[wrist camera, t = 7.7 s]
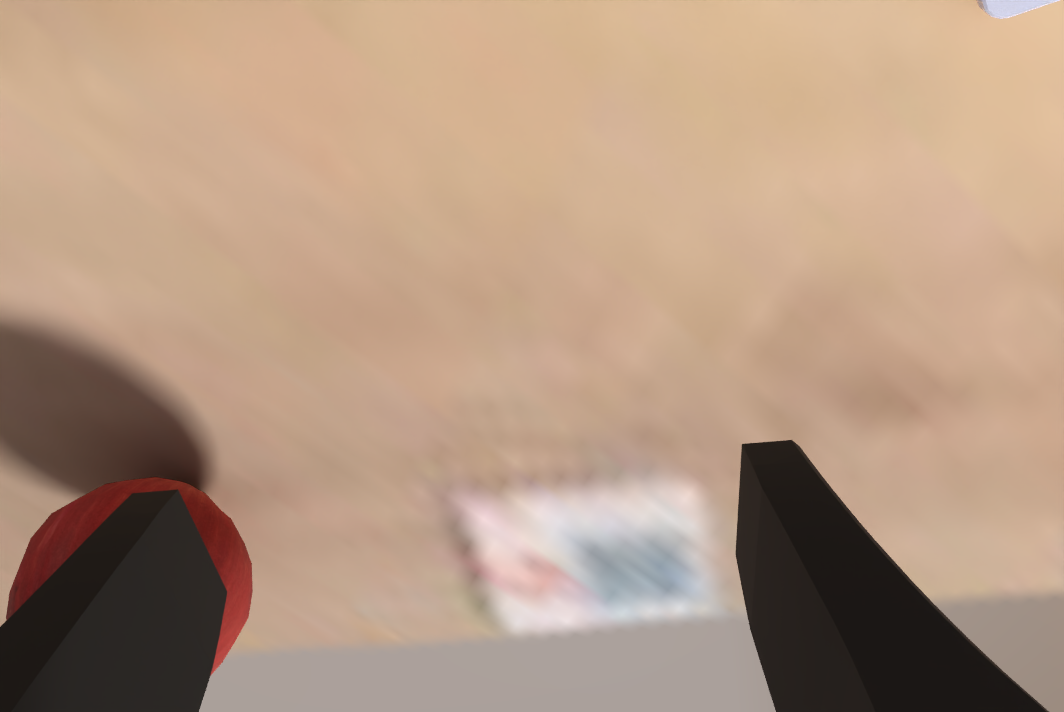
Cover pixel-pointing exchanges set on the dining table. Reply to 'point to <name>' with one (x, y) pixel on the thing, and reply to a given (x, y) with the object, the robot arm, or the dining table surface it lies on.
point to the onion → (95, 507)
